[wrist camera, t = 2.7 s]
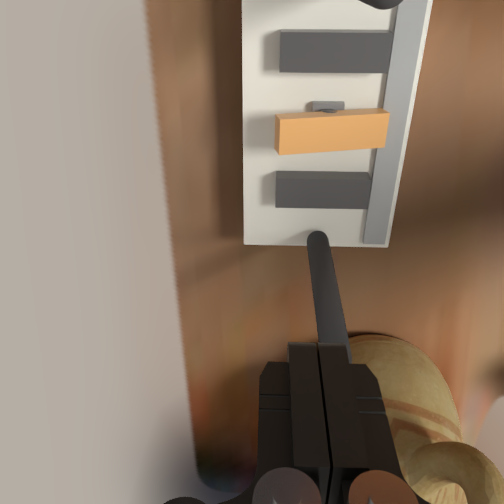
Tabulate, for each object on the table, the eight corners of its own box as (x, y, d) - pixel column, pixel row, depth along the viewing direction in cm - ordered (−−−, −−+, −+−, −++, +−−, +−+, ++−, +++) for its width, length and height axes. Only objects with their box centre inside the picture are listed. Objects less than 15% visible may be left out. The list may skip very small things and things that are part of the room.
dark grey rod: (306, 226, 35) (323, 358, 23) (328, 226, 35) (356, 359, 23) (305, 244, 36) (321, 381, 24) (326, 245, 36) (352, 381, 24)
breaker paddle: (273, 111, 29) (280, 119, 28) (378, 105, 30) (390, 112, 29) (272, 146, 30) (278, 155, 29) (373, 139, 32) (384, 147, 30)
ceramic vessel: (251, 409, 51) (236, 733, 29) (348, 276, 41) (428, 615, 20) (384, 456, 54) (456, 777, 33) (502, 343, 44) (712, 694, 23)
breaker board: (244, -48, 29) (239, -49, 25) (426, -48, 28) (449, -49, 25) (245, 225, 39) (242, 254, 35) (380, 228, 38) (391, 257, 35)
